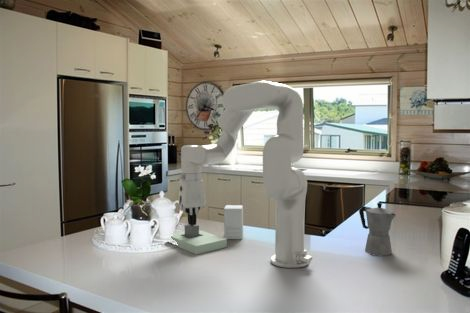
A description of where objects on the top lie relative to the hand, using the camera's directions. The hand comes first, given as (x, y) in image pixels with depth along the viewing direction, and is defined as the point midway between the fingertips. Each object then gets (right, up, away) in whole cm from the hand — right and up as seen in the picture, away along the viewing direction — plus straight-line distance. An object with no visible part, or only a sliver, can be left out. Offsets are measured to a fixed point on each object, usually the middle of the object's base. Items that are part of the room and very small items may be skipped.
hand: (192, 224), depth 160 cm
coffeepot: (+68, -8, -10) cm, 69 cm away
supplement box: (+16, -7, +9) cm, 20 cm away
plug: (0, -7, +1) cm, 7 cm away
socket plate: (+2, -8, -2) cm, 8 cm away
